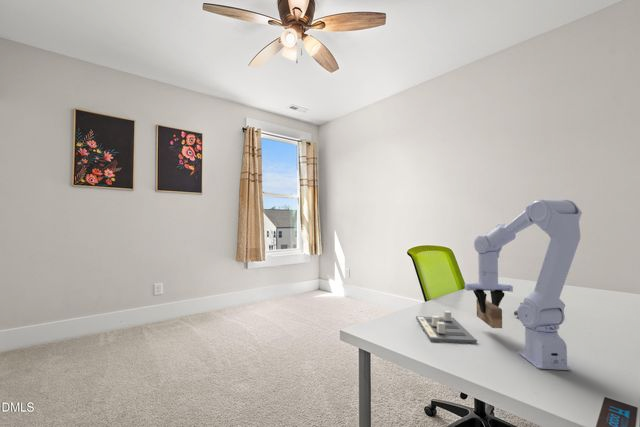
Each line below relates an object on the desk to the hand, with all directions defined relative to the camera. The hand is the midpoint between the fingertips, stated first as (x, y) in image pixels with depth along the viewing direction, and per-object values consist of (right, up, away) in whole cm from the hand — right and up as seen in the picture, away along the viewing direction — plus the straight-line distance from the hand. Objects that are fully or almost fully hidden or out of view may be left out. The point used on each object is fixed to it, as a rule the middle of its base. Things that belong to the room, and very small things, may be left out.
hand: (488, 312), depth 100 cm
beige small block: (-17, -6, -2) cm, 18 cm away
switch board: (-14, -8, +5) cm, 16 cm away
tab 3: (-9, -6, +11) cm, 16 cm away
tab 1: (-16, -6, +5) cm, 18 cm away
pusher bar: (0, -3, 0) cm, 3 cm away
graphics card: (+28, -9, +20) cm, 36 cm away
